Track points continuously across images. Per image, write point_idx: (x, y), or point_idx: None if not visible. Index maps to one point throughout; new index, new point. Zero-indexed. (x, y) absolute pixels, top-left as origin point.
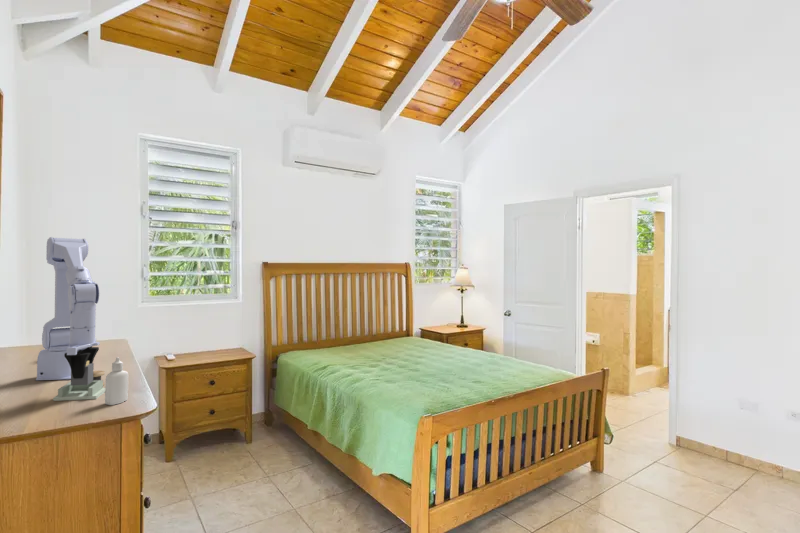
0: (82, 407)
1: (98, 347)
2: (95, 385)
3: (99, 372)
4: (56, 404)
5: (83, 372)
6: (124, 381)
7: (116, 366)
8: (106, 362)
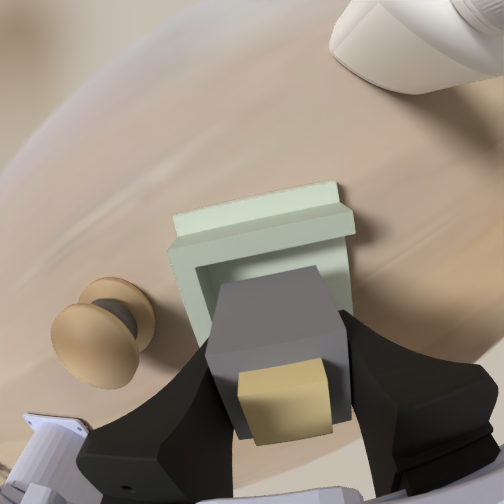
0: (448, 175)
1: (86, 457)
2: (293, 225)
3: (78, 331)
4: (401, 304)
5: (359, 321)
6: None
7: None
8: None
